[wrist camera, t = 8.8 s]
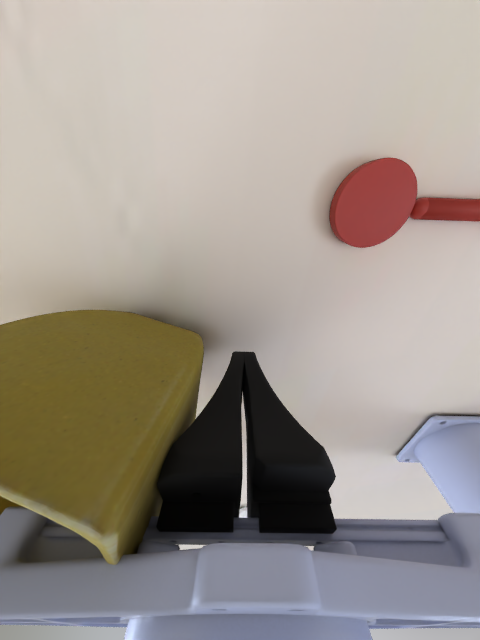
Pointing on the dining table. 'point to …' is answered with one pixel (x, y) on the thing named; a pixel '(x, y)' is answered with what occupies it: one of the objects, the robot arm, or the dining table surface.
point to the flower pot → (93, 419)
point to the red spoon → (388, 203)
